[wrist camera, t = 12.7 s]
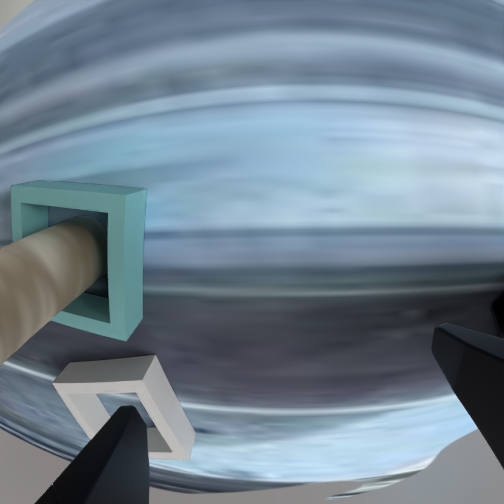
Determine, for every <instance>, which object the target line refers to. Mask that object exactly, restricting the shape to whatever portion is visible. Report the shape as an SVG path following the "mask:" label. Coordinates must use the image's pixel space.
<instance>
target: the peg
mask: <svg viewBox="0 0 504 504" xmlns="http://www.w3.org/2000/svg"><path fill="white" fill-rule="evenodd" d="M107 272H108V231H107V229H106V228H105V227H104V225H103V224H102V223H101V222H99V221H98V220H97V219H95V218H93V217H90V216H84V215H82V216H77V217H74V218H71V219H69V220H66V221H64V222H61V223H58V224H56V225H53V226H51V227H48V228H46V229H44V230H41V231H39V232H36V233H34V234H32V235H29V236H27V237H25V238H22V239H20V240H18V241H15V242H13V243H11V244H9V245H6V246H4V247H2V248H0V366H1V365H2V364H3V363H4V362H5V361H6V360H7V359H8V358H9V357H10V356H11V355H12V354H13V353H14V352H15V351H17V350H18V349H19V348H20V347H21V346H22V345H23V344H24V343H25V342H26V341H27V340H29V339H30V338H31V337H32V336H33V335H34V334H35V333H36V332H37V331H39V330H40V329H41V328H42V327H43V326H44V325H45V324H47V323H48V322H49V321H50V320H51V319H52V318H53V317H55V316H56V315H57V314H58V313H59V312H60V311H62V310H63V309H64V308H65V307H66V306H67V305H69V304H70V303H71V302H72V301H73V300H75V299H76V298H77V297H78V296H79V295H81V294H82V293H83V292H84V291H85V290H87V289H88V288H89V287H90V286H92V285H93V284H94V283H95V282H96V281H98V280H99V279H100V278H101V277H103V276H104V275H105V274H106V273H107Z"/></svg>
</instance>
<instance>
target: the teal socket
mask: <svg viewBox="0 0 504 504" xmlns="http://www.w3.org/2000/svg"><path fill="white" fill-rule="evenodd" d="M146 194H147V189H142V188H132V187H121V186H110V185H98V184H86V183H72V182H57V181H41V180H38V181H33V182H27V183H22V184H17V185H12V186H11V223H12V240H13V242H15V241H18V240H20V239H22V238H25V237H27V236H29V235H32V234H34V233H36V232H39V231H41V230H44V229H46V228H48V206H55V207H64V208H73V209H81V210H90V211H98V212H106V213H108V290H109V298H106V297H101V296H97V295H92V294H88V293H84V292H83V293H82V294H81V295H79V296H78V297H77V298H76V299H75V300H73V301H72V302H71V303H70V304H69V305H67V306H66V307H65V308H64V309H63V310H62V311H60V312H59V313H58V314H57V315H56V316H55V317H53V318H52V319H51V321H54V322H57V323H60V324H64V325H67V326H70V327H74V328H77V329H81V330H84V331H88V332H92V333H95V334H99V335H103V336H107V337H111V338H115V339H119V340H123V341H127V340H128V338H129V337H130V336H131V334H132V333H133V331H134V330H135V329H136V327H137V326H138V324H139V323H140V322H141V320H142V319H143V247H144V224H145V208H146Z"/></svg>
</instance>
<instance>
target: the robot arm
mask: <svg viewBox="0 0 504 504" xmlns="http://www.w3.org/2000/svg"><path fill="white" fill-rule="evenodd" d="M492 312H493V316H494V319H495V323H496V327H497V331H498V335H499V337H495V336H492V335H488V334H485V333H481V332H478V331H474V330H471V329H467V328H464V327H460V326H457V325H453V324H450V323H444V324H441V325H439V326H437V327H436V328H435V330H434V335H433V342H432V353H433V356H434V358H435V359H436V361H437V363H438V365H439V366H440V368H441V370H442V372H443V374H444V375H445V377H446V379H447V381H448V383H449V385H450V386H451V388H452V390H453V391H454V393H455V394H456V396H457V397H458V399H459V400H460V402H461V403H462V405H463V406H464V408H465V409H466V411H467V412H468V414H469V415H470V417H471V418H472V420H473V421H474V423H475V424H476V426H477V427H478V429H479V430H480V432H481V433H482V435H483V436H484V438H485V440H486V441H487V443H488V444H489V446H490V447H491V449H492V451H493V452H494V454H495V456H496V457H497V459H498V461H499V462H500V464H501V466H502V467H503V469H504V293H503V294H502V295H501V296H500V297H499V298H498V299H497V300H496V301H495V302H494V303H493V305H492ZM149 483H150V470H149V455H148V438H147V427H146V424H145V422H144V421H143V419H142V417H141V416H140V414H139V413H138V411H137V409H136V408H135V407H134V406H132V405H130V406H121V407H119V408H118V409H117V411H116V412H115V413H114V414H113V415H112V416H111V417H110V419H109V420H108V421H107V422H106V423H105V424H104V425H103V427H102V428H101V429H100V430H99V431H98V432H97V433H96V435H95V436H94V437H93V438H92V439H91V440H90V441H89V443H88V444H87V445H86V446H85V447H84V448H83V449H82V451H81V452H80V453H79V454H78V455H77V456H76V457H75V459H74V460H73V461H72V462H71V463H70V464H69V465H68V467H67V468H66V469H65V470H64V471H63V472H62V473H61V475H60V476H59V477H58V478H57V479H56V480H55V481H54V483H53V485H51V486H50V487H49V488H48V489H47V490H46V492H45V493H44V494H43V495H42V496H41V497H40V498H39V499H38V500H37V501H36V502H35V504H149Z"/></svg>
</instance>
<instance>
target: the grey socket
mask: <svg viewBox="0 0 504 504" xmlns="http://www.w3.org/2000/svg"><path fill="white" fill-rule="evenodd" d="M53 385H54V387H55V388H56V390H57V392H58V393H59V395H60V396H61V398H62V399H63V401H64V402H65V404H66V406H67V407H68V409H69V410H70V411H71V413H72V414H73V416H74V417H75V419H76V420H77V422H78V423H79V424H80V426H81V427H82V428H83V430H84V431H85V433H86V434H87V435H88V437H89V438H90V439H92V438H93V437H94V436H95V435H96V433H97V432H98V431H99V430H100V429H101V428H102V427H103V425H104V424H105V423H106V422H107V421H108V420H109V419H110V415H109V414H108V412H107V411H106V409H105V407H104V406H103V404H102V403H101V401H100V399H99V398H98V396H97V395H96V394H97V393H132V392H136V393H137V395H138V397H139V399H140V400H141V402H142V404H143V406H144V407H145V409H146V411H147V412H148V414H149V416H150V417H151V419H152V421H153V422H154V424H155V425H156V427H149V428H147V438H148V455H149V459H162V460H190V456H191V452H192V448H193V444H194V440H195V436H196V433H195V431H194V429H193V427H192V425H191V424H190V422H189V420H188V418H187V416H186V414H185V413H184V411H183V409H182V407H181V405H180V403H179V401H178V399H177V397H176V395H175V393H174V391H173V389H172V387H171V385H170V383H169V381H168V379H167V377H166V375H165V373H164V371H163V369H162V367H161V365H160V363H159V360H158V358H157V356H156V355H148V356H139V357H130V358H120V359H110V360H98V361H85V362H70V363H69V364H68V365H67V366H66V367H65V368H64V370H63V371H62V372H61V373H60V374H59V376H58V377H57V378H56V379H55V380H54V382H53Z"/></svg>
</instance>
